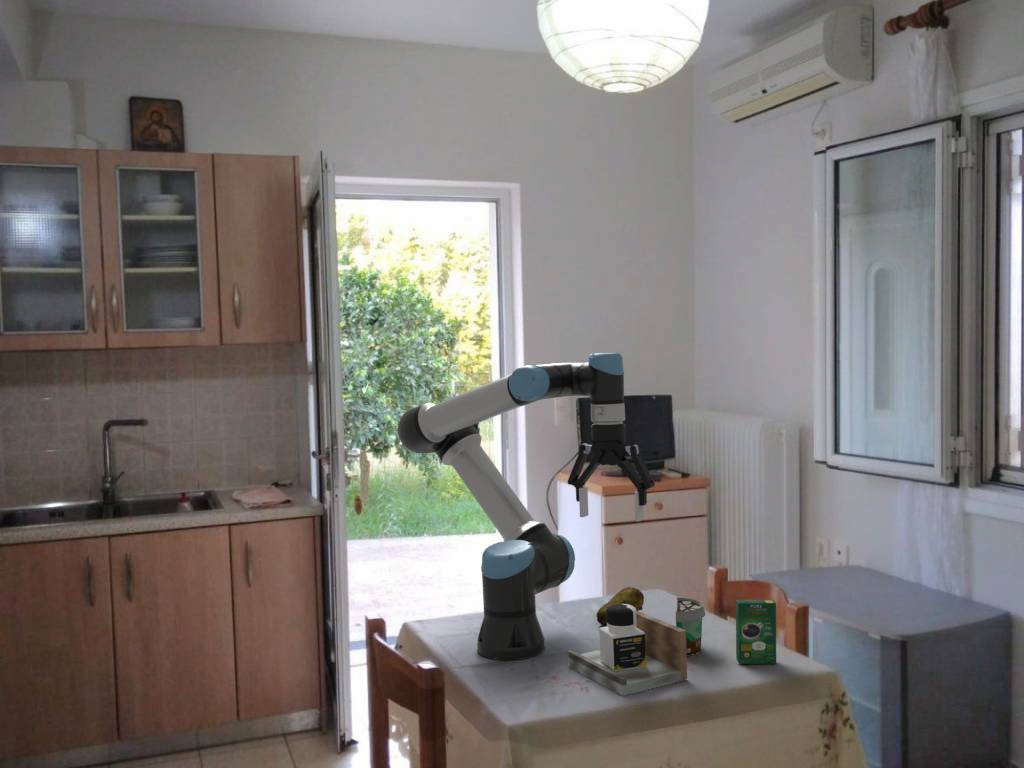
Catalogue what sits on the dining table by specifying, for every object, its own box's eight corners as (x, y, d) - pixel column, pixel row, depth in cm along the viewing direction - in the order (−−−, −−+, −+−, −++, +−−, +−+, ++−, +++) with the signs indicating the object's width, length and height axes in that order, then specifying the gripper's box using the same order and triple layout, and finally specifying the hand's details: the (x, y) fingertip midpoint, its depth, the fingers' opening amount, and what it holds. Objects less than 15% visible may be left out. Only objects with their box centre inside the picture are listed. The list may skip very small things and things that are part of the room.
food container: (706, 659, 198) (705, 613, 198) (676, 658, 199) (675, 612, 199) (706, 641, 210) (705, 597, 210) (678, 640, 212) (677, 596, 211)
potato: (589, 620, 229) (588, 588, 229) (638, 614, 233) (637, 582, 232) (600, 630, 221) (599, 596, 221) (651, 624, 224) (650, 591, 224)
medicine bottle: (614, 672, 187) (612, 612, 186) (599, 661, 194) (597, 603, 193) (646, 667, 189) (644, 608, 189) (631, 656, 196) (629, 599, 195)
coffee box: (775, 660, 196) (773, 598, 196) (778, 664, 193) (776, 601, 193) (736, 660, 197) (734, 598, 196) (738, 665, 194) (736, 602, 193)
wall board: (568, 666, 197) (566, 619, 197) (629, 652, 204) (627, 607, 204) (622, 695, 180) (621, 644, 179) (687, 679, 187) (685, 630, 186)
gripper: (550, 423, 211) (554, 517, 211) (653, 425, 197) (656, 525, 198) (566, 420, 217) (570, 511, 218) (667, 421, 204) (670, 518, 204)
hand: (611, 518), depth 208 cm, fingers open, 13 cm apart
